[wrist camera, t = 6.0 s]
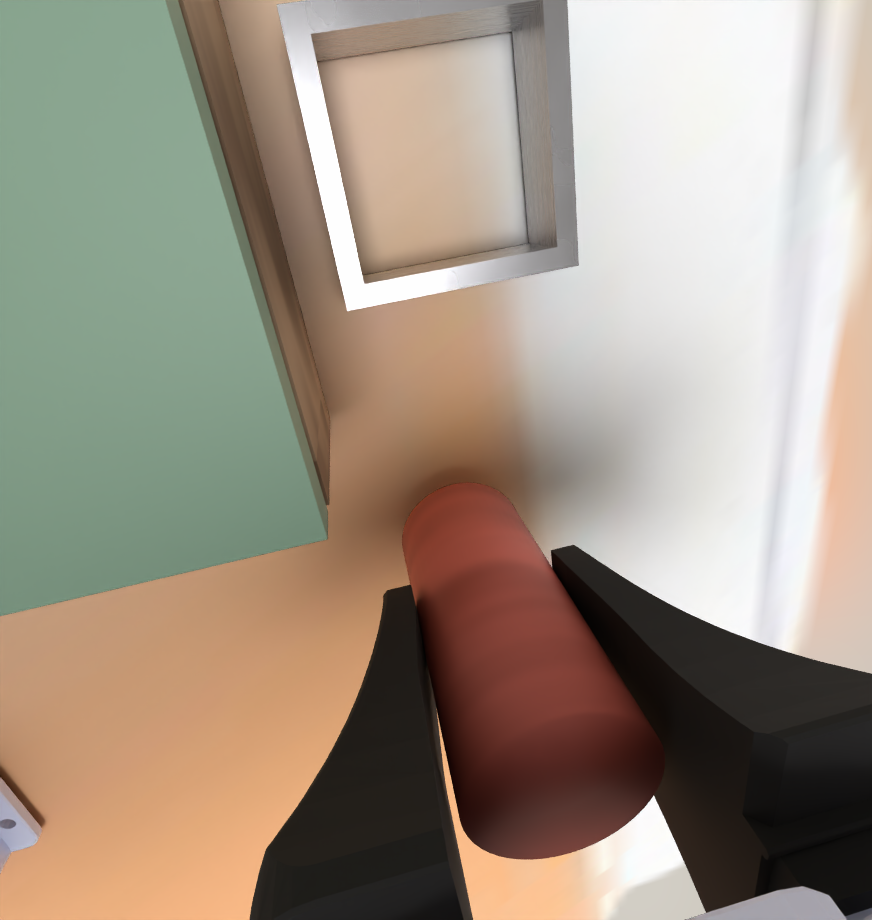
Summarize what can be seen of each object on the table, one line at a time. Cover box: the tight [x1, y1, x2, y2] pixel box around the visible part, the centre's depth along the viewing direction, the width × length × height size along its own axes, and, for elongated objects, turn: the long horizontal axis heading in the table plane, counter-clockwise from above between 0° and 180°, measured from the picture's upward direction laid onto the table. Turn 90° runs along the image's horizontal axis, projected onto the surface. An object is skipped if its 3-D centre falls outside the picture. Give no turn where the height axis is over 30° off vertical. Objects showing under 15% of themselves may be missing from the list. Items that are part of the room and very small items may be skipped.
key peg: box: [402, 483, 665, 859], centre depth 13 cm, size 4×4×8 cm
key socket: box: [277, 0, 579, 311], centre depth 12 cm, size 6×6×2 cm
